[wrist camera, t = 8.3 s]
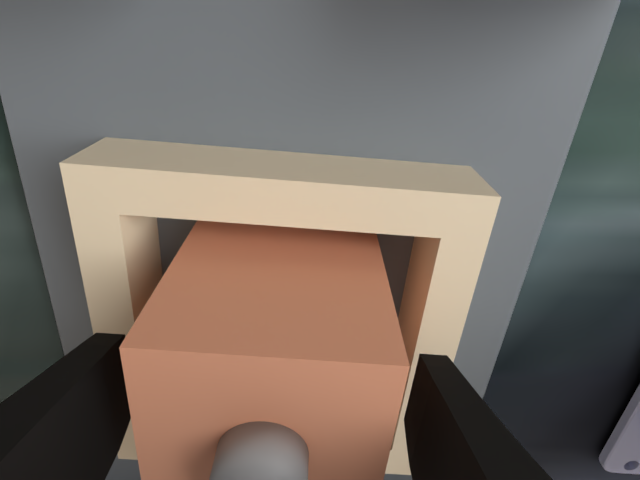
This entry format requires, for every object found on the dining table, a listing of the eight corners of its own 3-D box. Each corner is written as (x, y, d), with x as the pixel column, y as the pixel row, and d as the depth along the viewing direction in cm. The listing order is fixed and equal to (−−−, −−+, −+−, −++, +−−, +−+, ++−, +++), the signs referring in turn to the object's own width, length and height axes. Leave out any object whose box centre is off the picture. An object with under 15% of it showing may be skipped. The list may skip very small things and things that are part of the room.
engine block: (374, 226, 11) (420, 408, 6) (354, 357, 13) (375, 579, 8) (201, 213, 11) (94, 388, 6) (207, 348, 13) (132, 567, 8)
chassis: (665, -144, 9) (1041, -320, 4) (442, 506, 18) (482, 666, 14) (-67, -220, 8) (-545, -512, 4) (101, 488, 18) (27, 647, 13)
